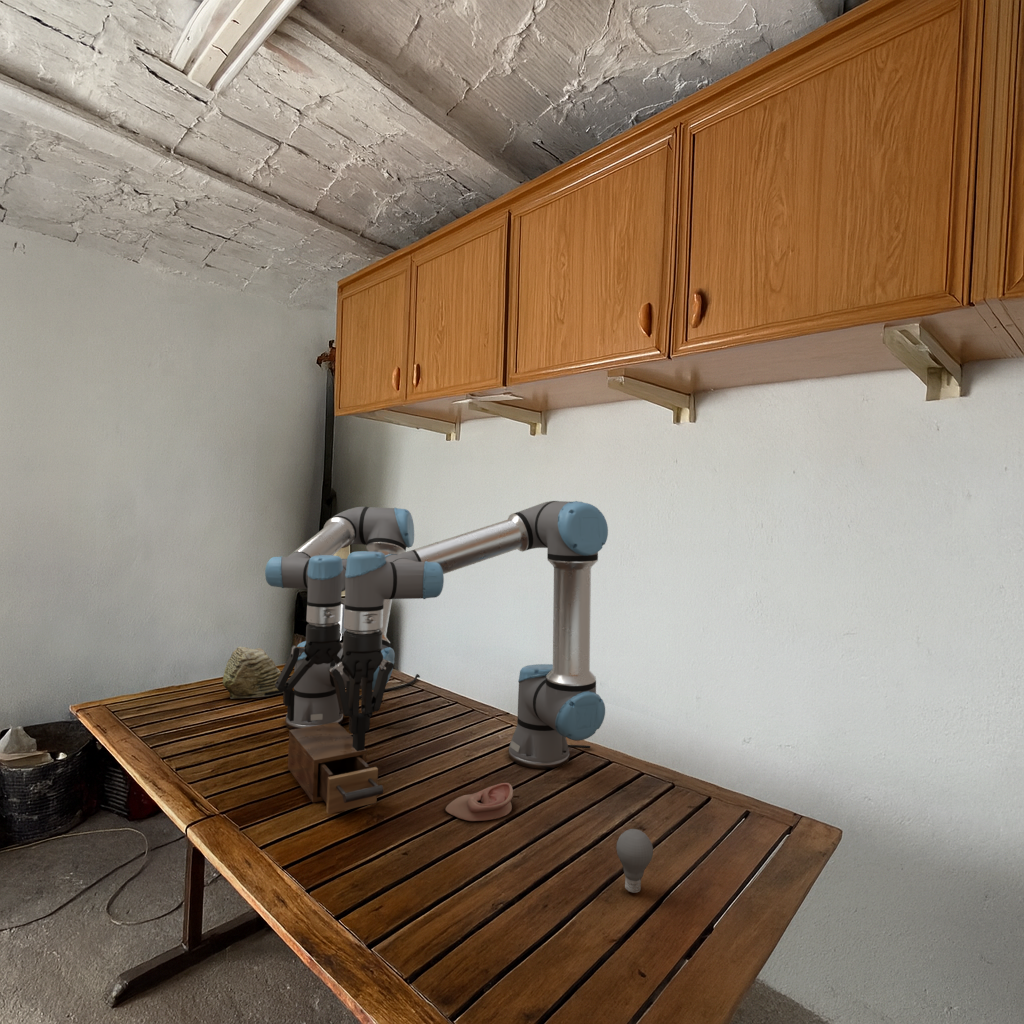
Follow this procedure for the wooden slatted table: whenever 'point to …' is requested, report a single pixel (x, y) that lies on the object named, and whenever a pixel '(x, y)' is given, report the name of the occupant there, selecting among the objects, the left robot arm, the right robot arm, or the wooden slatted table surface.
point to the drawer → (347, 784)
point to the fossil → (250, 674)
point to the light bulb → (634, 857)
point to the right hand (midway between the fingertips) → (358, 748)
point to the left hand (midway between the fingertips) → (320, 714)
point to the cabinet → (317, 753)
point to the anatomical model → (483, 804)
